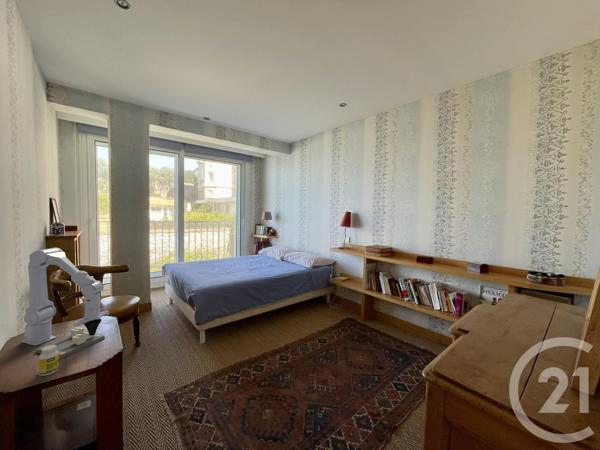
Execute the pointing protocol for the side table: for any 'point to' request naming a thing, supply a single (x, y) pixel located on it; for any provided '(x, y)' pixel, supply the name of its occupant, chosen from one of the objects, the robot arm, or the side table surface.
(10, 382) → the side table surface
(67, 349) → the panel
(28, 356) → the side table surface
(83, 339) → the block
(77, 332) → the cream slider knob
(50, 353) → the supplement bottle
